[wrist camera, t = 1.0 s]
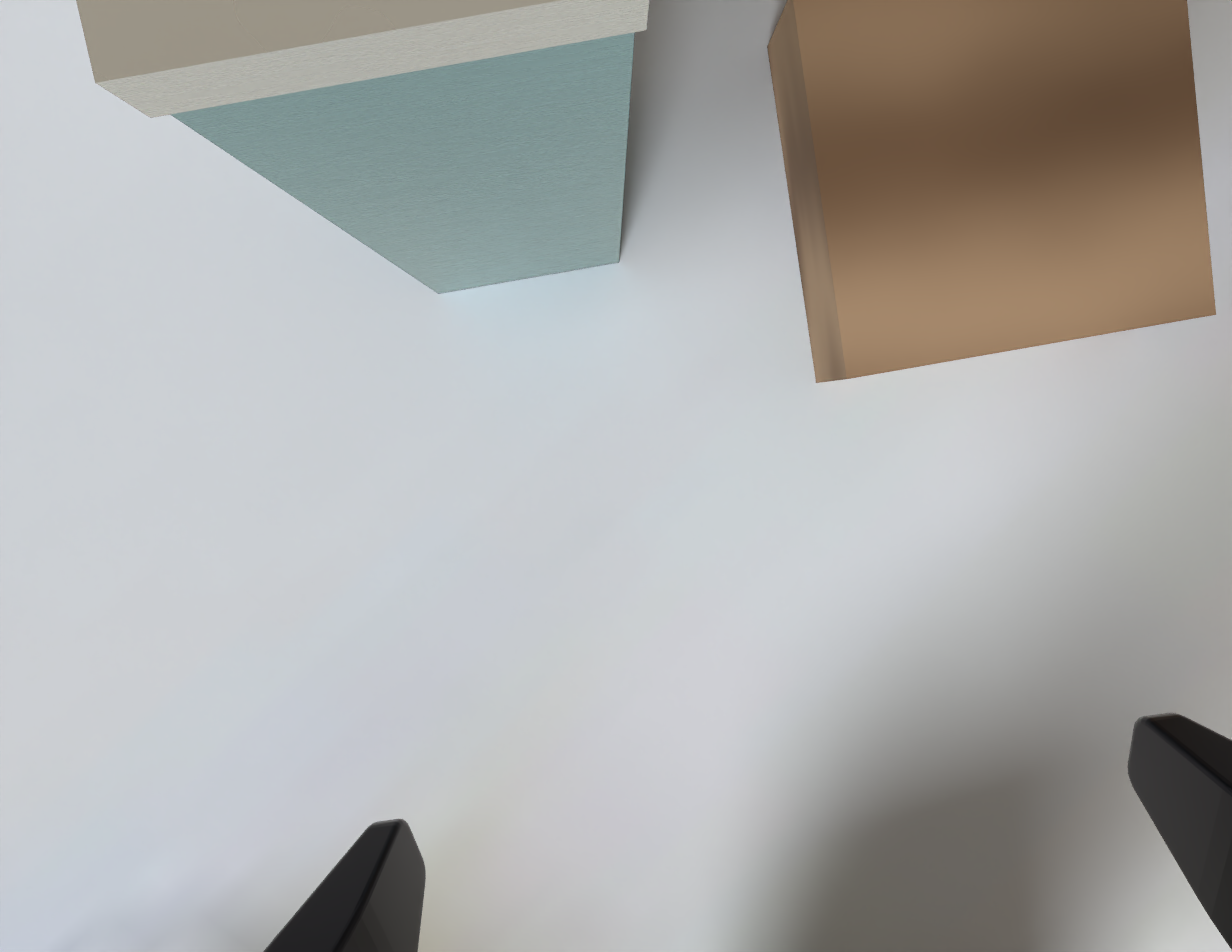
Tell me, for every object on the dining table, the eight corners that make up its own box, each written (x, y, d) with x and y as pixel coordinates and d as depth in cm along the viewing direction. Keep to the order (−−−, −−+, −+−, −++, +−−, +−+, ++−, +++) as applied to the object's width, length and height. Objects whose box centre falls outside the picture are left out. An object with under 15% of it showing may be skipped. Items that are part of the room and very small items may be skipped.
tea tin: (622, 265, 20) (650, -16, 7) (435, 298, 20) (95, 82, 7) (590, 68, 19) (549, -658, 6) (397, 101, 19) (-50, -547, 6)
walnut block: (1126, 328, 20) (1215, 314, 17) (811, 383, 20) (846, 379, 17) (1091, -4, 19) (1179, -80, 16) (763, 54, 19) (791, -10, 16)
